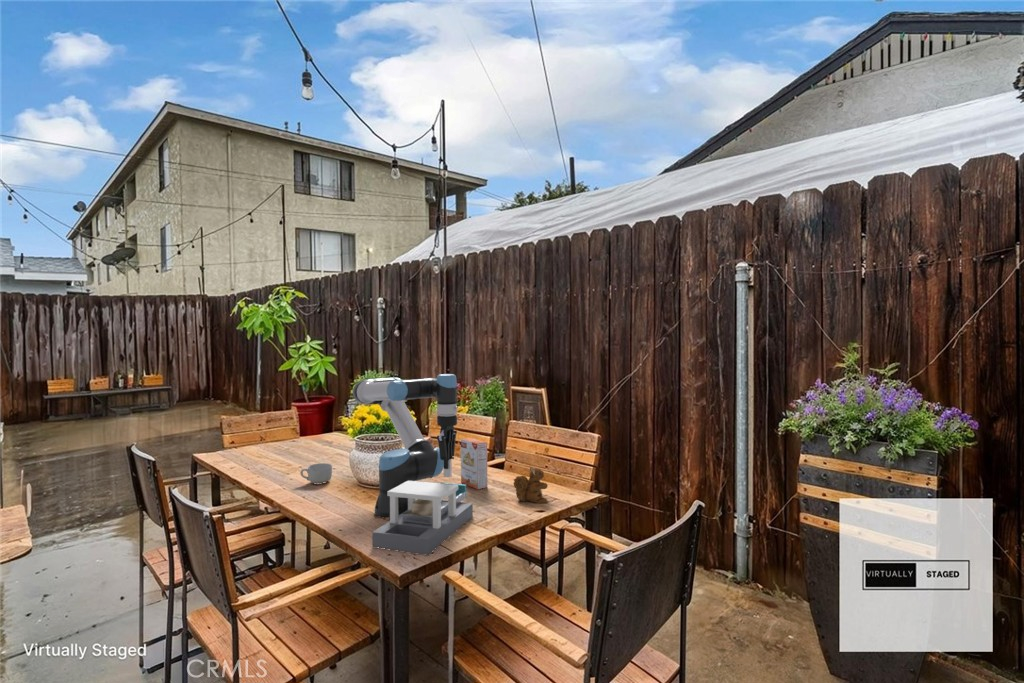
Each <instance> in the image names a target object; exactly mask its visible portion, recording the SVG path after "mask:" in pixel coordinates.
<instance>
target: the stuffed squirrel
mask: <svg viewBox="0 0 1024 683" xmlns="http://www.w3.org/2000/svg"><path fill="white" fill-rule="evenodd" d="M541 480H546V478H545V474H544V470H542V469H540V468H538V467H530V468H529V478H528V477H527V476H525V475H518V476H516V477H515V478H514V479H513V481H514V482H513V487H514V488H515V493H516V495H515V496H516V498H517V499H518V501H520V500H521V501H520V502H522V501H524V502H530V501H531V502H530V503H534V502H537V503H536V504H547V503H548V499H547V498H546V497H543V492H542V490H546V489H547V488H548V487H549V486H548V483H547V482H544V481H541ZM546 502H547V503H546Z"/></svg>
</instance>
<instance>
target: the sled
mask: <svg viewBox="0 0 1024 683" xmlns="http://www.w3.org/2000/svg"><path fill="white" fill-rule="evenodd" d="M439 483H440V484H451V485H458V490H457V491H456V505H457V504H458V503H460V502H462V501H464V500H465V499H466V498H467V485H465V484H463V483H450V482H439ZM447 512H448V503H447V504H446V505H444V506H443V507H441V516H443V515H444V514H445V513H447ZM402 521H404V522H412V523H420V524H428V525H431V524H432V523H433V514H432V515H430V516H423V515H415V514H412V508H411V509H409V510H408V511H406V512H405V513H403V514H402Z"/></svg>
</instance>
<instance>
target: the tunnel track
mask: <svg viewBox="0 0 1024 683" xmlns="http://www.w3.org/2000/svg"><path fill="white" fill-rule="evenodd" d="M440 483H441V482H438V483H437V482H427V481H426V482H425V481H420V480H417V481H406V482H404V483H402V484H401V485H399V486H397V487H395V488H393V489H391V490H389V491H387V496H390V518H389V521H387V522H386V523H384V524H383V525H382V526H380V527H378V528H377V529H375V530H373V531H371V532H372V534H371V536H372V537H371V538H372V545H371V546H372V547H379V548H385V549H384V550H386V549H390V550H389V551H393V550H398V551H397V552H400V551H404V552H403V553H407V552H411V553H410V554H414V553H418V554H417V555H421V554H426V555H425V556H429V554H430V553H431V552H432V551H433V550H434V551H435V550H436V549H437V547H438V546H439V545H440V544H441V543H442V542H443V541H444V540H446V539H447V538H448V537H449V536H450V537H451V536H452V535H453V534H455V533H456V532H457V531H458V530H459V529H461V527H463V526H464V525H465V524H467V522H468V521H469V520H470V518H471V519H472V518H473V516H474V515H473V512H474V510H473V508H474V507H473V506H474V505H473V504H474V503H473V502H462V501H461V502H460V503H458V504H457V505H456V491H457V490H458V485H451V484H440ZM398 497H402V498H408V510H409V509H411V508H412V503H413V502H414V501H416V500H417V499H421V500H431V501H433V523H432V524H431V525H428V524H420V523H412V522H404V521H402V514H403V513H405V512H406V511H408V510H406V511H405V512H403V513H402V514H400V515H398ZM445 499H448V500H445ZM447 503H448V512H447V513H445V514H444V515H443V516H441V507H443V506H444V505H446V504H447ZM463 524H464V525H463ZM462 525H463V526H462ZM456 530H457V531H456ZM455 531H456V532H455ZM454 532H455V533H454ZM450 537H449V538H450ZM449 538H448V539H449ZM448 539H447V540H448ZM447 540H446V541H447ZM444 542H445V541H444ZM444 542H443V543H444ZM443 543H442V544H443ZM442 544H441V545H442ZM441 545H440V546H441ZM440 546H439V547H440ZM439 547H438V548H439ZM379 548H378V549H379ZM435 548H436V549H435ZM434 551H433V552H434ZM433 552H432V553H433ZM432 553H431V554H432ZM431 554H430V555H431Z"/></svg>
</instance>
